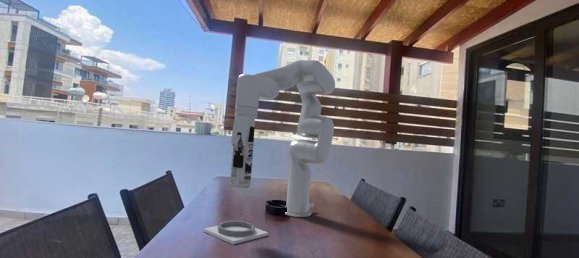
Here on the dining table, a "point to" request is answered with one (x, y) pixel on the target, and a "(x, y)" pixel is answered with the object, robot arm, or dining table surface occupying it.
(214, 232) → the collar plate
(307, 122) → the robot arm
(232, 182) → the spray can
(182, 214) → the dining table surface
